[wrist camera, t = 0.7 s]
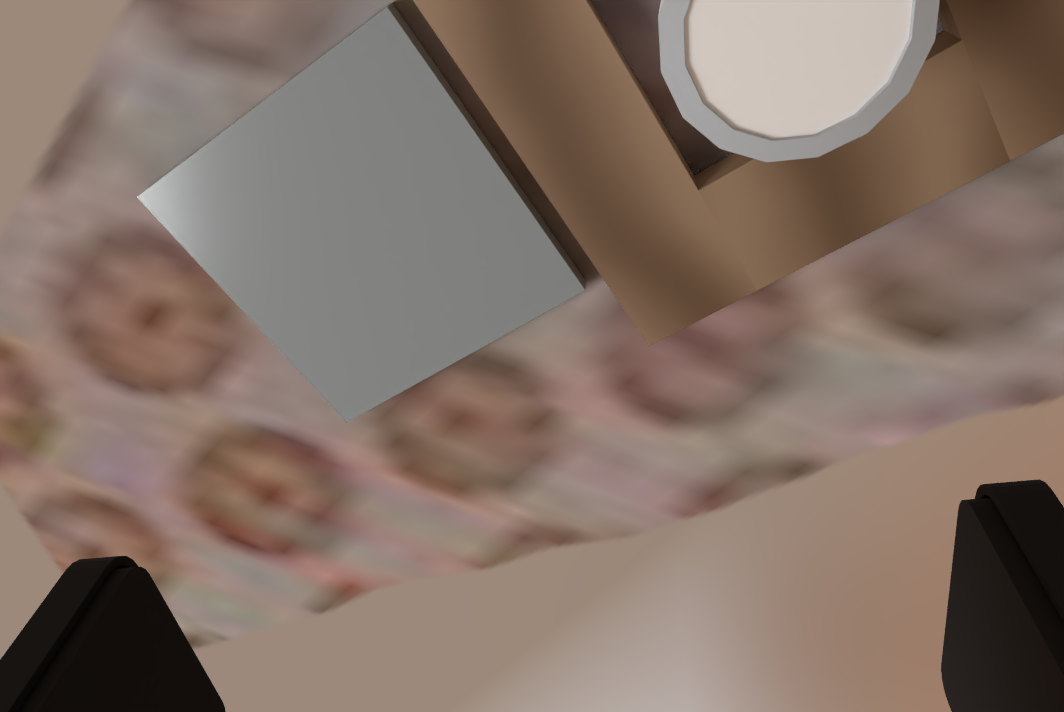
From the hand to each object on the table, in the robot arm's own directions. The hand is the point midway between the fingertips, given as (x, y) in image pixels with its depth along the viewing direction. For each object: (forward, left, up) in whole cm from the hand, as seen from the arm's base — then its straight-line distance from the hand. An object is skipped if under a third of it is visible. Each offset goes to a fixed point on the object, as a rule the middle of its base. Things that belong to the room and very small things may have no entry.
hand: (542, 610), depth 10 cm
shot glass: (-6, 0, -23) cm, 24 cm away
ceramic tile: (+10, 0, -23) cm, 24 cm away
